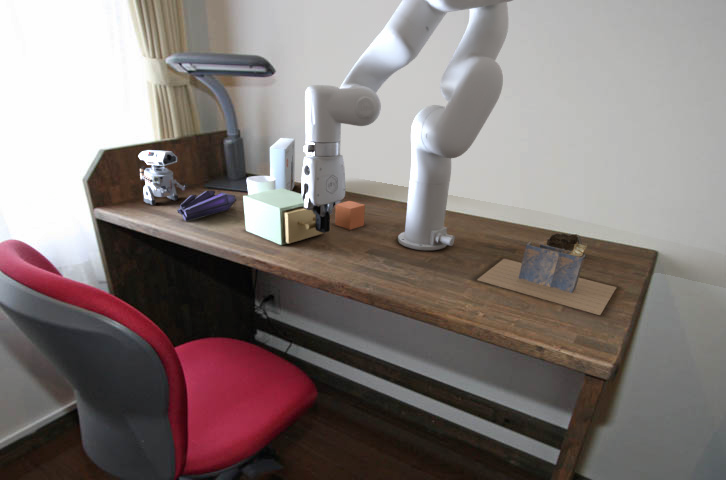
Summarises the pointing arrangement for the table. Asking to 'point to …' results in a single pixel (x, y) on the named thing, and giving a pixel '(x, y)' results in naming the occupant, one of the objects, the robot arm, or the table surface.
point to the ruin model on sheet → (551, 278)
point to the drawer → (299, 224)
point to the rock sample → (564, 241)
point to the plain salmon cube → (349, 214)
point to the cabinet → (269, 212)
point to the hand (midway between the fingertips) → (322, 230)
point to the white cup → (260, 184)
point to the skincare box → (283, 163)
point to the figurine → (159, 175)
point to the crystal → (205, 204)
